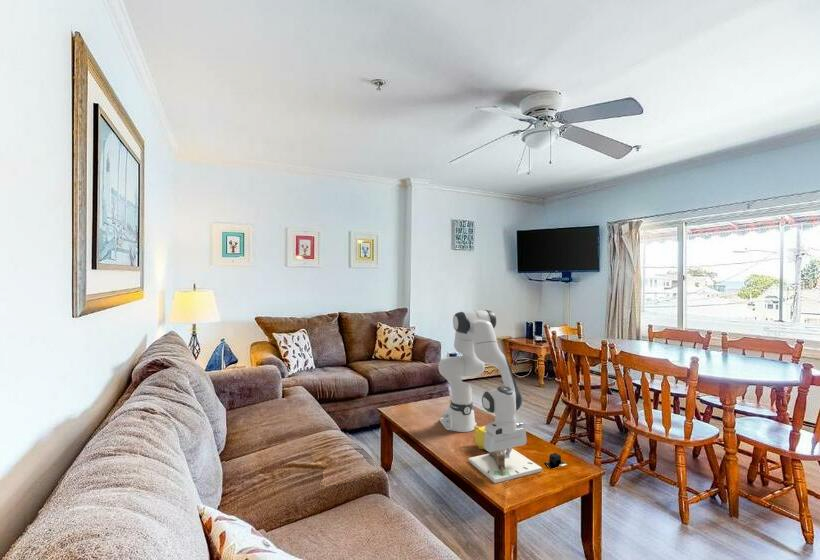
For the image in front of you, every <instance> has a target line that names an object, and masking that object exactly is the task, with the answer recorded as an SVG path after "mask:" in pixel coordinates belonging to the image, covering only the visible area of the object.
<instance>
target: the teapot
mask: <svg viewBox="0 0 820 560" xmlns="http://www.w3.org/2000/svg"><path fill="white" fill-rule="evenodd" d="M485 426H486V425H482V426H478V425H476V426H474V430H473V431H474V433H475V434H476V435H475V437H474V438H475V439H474V442H475V445H476V447H478V449H479V450H485V451H487V450H486V449H485V448H484V435H485V433H486V432H487V431H486V430H485Z"/></svg>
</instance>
